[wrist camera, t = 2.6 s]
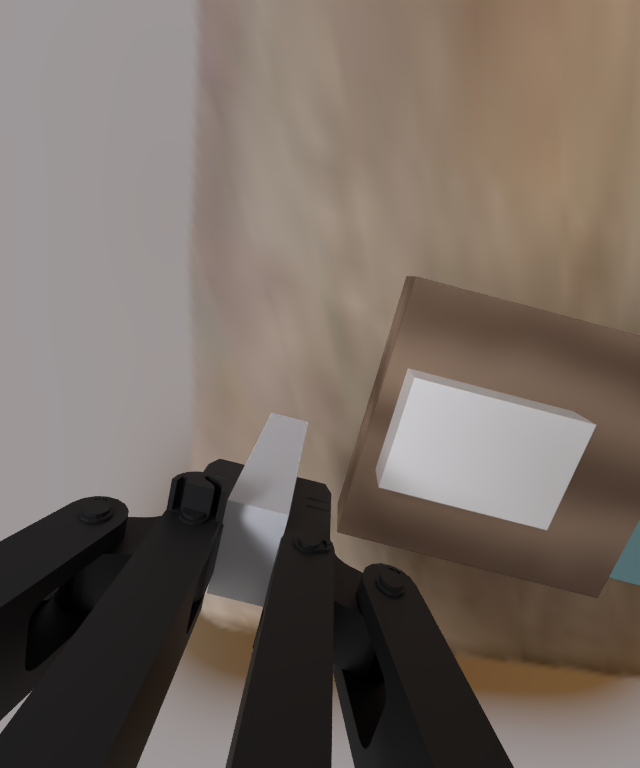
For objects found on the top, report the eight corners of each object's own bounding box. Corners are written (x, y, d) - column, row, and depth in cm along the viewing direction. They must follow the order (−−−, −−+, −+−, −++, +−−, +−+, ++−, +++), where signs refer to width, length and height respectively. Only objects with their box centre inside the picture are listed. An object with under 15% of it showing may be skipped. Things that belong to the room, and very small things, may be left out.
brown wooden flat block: (406, 276, 23) (416, 276, 20) (677, 348, 23) (725, 358, 20) (337, 504, 27) (337, 532, 24) (570, 563, 27) (597, 598, 24)
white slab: (407, 368, 21) (414, 377, 19) (573, 411, 21) (596, 424, 19) (375, 469, 23) (378, 487, 21) (529, 508, 23) (546, 530, 21)
